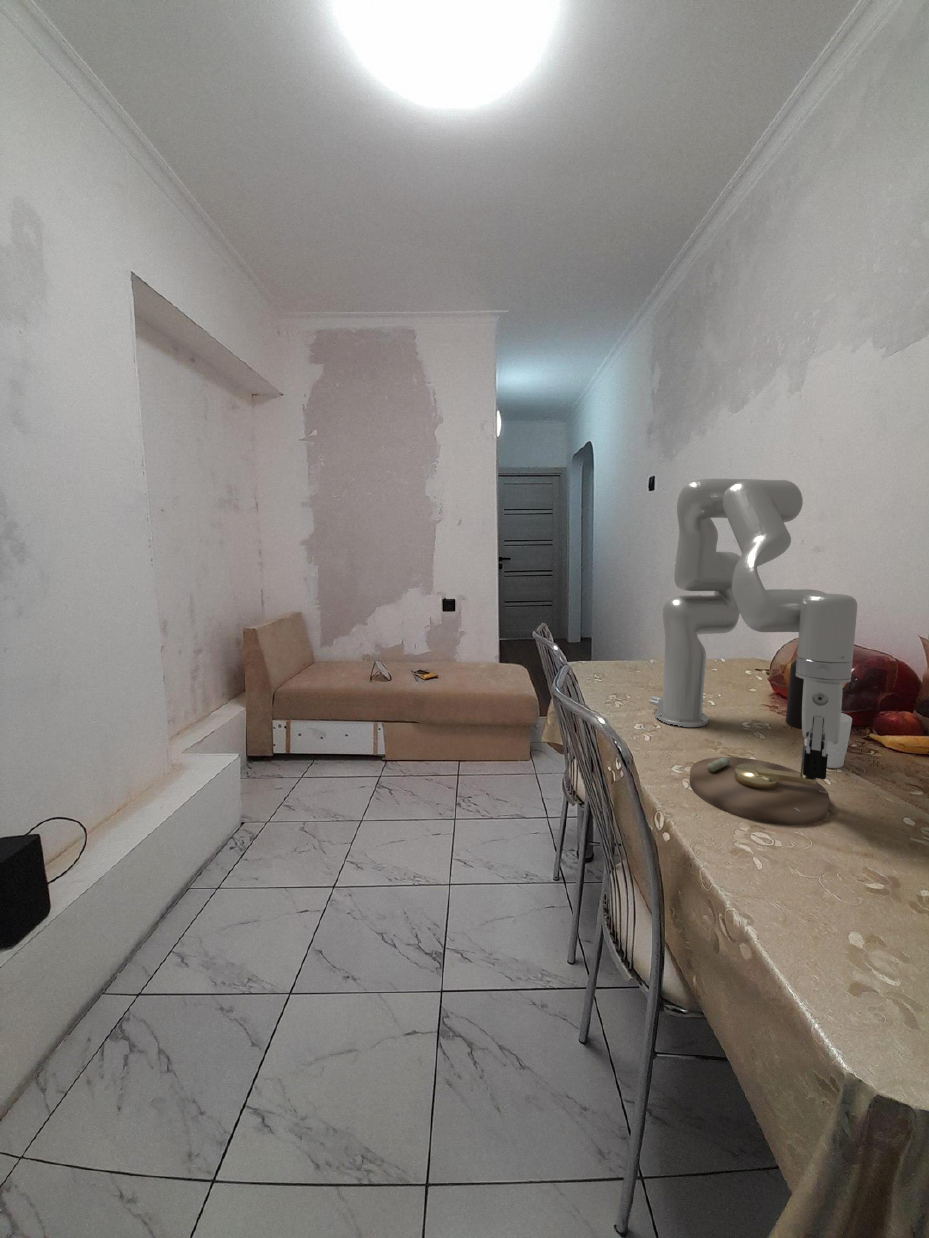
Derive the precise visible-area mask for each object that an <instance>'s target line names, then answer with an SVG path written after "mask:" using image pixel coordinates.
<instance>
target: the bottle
mask: <svg viewBox="0 0 929 1238" xmlns="http://www.w3.org/2000/svg"><path fill="white" fill-rule="evenodd" d="M797 652H798V644H797V645H796V654H797ZM796 664H797V659H795V660H794V661H793V662H792V663H791V664H790V669H789V680H788V681H789V682H788V690H787V691H788V692H787V703H786V714H785V722H786V724H787V725H789V726H791V727H794V728H797V729H800V730H802V699H803V684H804V679H802V678H799V677H797V676H796Z"/></svg>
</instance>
